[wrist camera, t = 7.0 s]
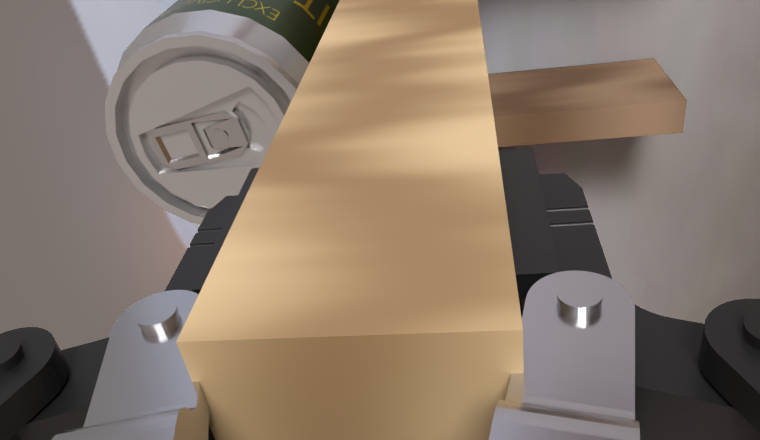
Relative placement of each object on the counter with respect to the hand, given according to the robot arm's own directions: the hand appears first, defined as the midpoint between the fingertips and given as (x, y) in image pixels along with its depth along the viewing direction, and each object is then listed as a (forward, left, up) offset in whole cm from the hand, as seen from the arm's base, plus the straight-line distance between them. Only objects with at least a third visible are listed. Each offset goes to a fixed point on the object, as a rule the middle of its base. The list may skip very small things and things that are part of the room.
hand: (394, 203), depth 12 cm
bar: (0, 0, -14) cm, 14 cm away
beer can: (+4, 0, -15) cm, 16 cm away
